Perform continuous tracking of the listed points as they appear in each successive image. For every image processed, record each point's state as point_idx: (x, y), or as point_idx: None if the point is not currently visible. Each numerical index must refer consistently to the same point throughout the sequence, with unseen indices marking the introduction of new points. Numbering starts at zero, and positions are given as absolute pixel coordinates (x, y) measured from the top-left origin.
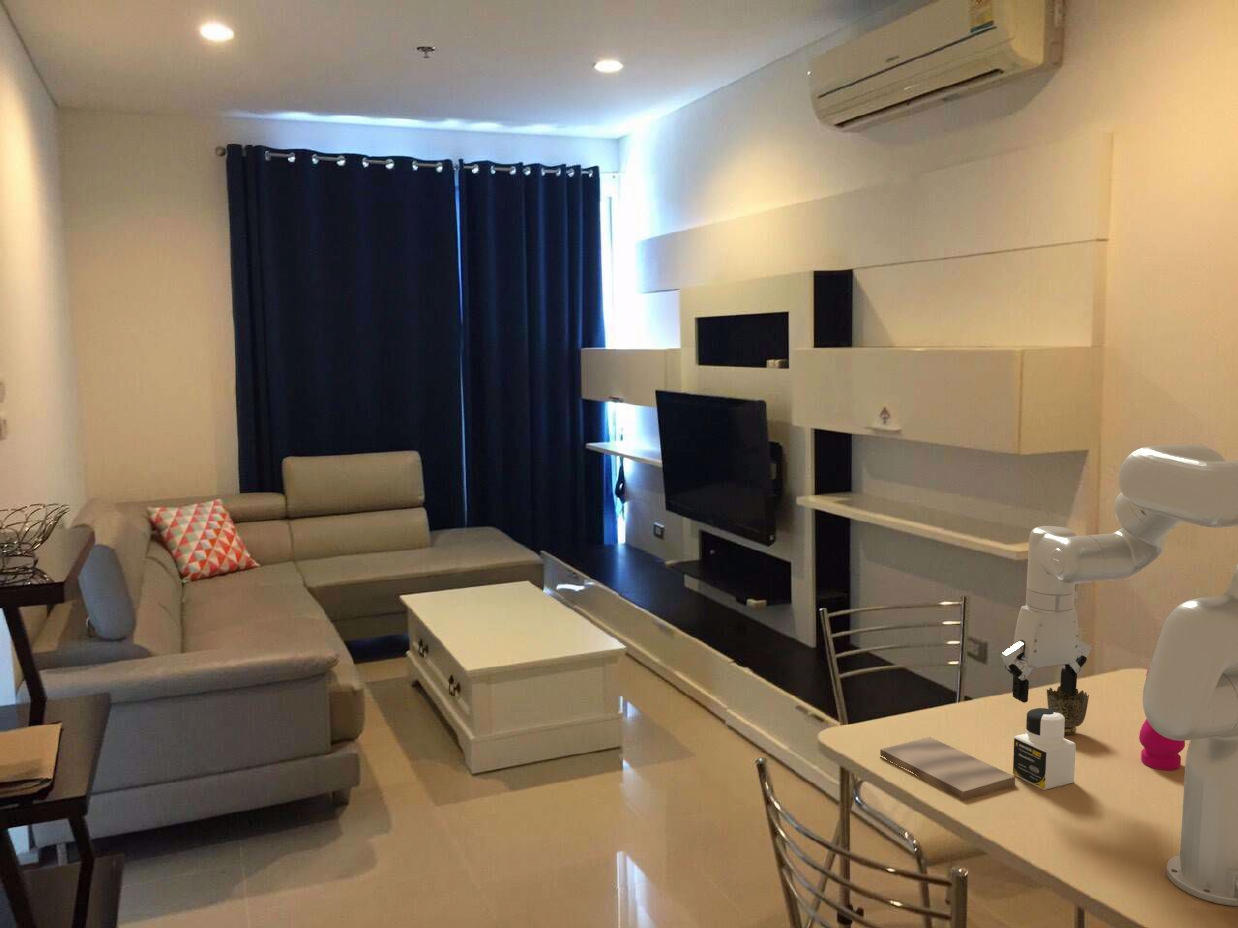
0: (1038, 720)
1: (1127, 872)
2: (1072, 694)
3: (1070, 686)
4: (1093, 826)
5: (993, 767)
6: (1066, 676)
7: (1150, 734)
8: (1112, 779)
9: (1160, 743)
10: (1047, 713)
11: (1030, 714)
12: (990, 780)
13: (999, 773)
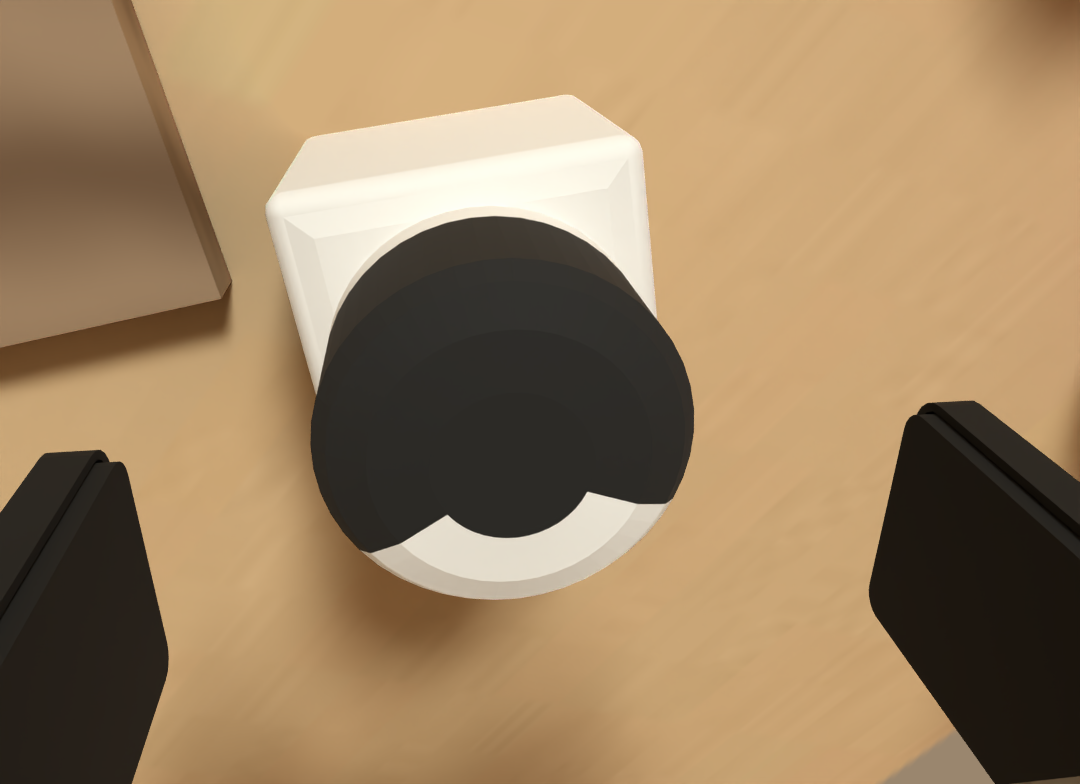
0: (346, 535)
1: None
2: (883, 614)
3: (934, 659)
4: (356, 728)
5: (140, 121)
6: (1040, 670)
7: None
8: (828, 361)
9: None
10: (498, 508)
11: (336, 425)
12: (10, 308)
13: (135, 224)
